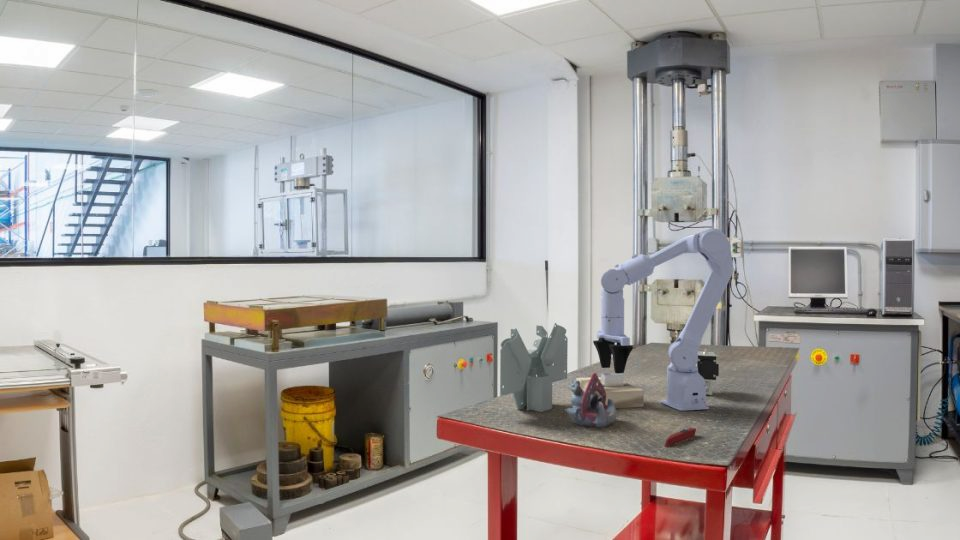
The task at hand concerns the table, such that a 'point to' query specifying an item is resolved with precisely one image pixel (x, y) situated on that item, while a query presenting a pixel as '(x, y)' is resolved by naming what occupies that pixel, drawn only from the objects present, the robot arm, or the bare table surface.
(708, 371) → the pneumatic valve
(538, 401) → the bracket
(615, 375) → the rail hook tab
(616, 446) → the table surface
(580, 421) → the grey red figurine
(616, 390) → the light wood flat block
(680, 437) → the utility knife
